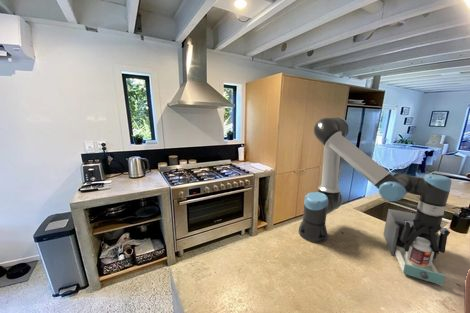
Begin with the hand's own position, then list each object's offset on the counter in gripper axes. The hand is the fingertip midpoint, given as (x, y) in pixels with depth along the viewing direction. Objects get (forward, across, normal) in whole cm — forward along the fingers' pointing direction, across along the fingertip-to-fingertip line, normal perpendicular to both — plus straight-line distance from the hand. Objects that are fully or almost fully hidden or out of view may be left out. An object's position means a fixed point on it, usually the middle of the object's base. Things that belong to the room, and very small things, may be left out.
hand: (417, 260), depth 82 cm
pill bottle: (+1, 0, 0) cm, 1 cm away
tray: (+3, 0, 0) cm, 3 cm away
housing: (+4, 0, +15) cm, 16 cm away
